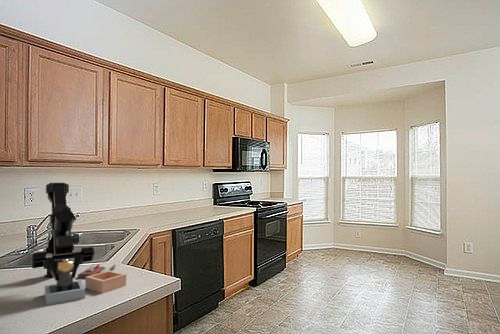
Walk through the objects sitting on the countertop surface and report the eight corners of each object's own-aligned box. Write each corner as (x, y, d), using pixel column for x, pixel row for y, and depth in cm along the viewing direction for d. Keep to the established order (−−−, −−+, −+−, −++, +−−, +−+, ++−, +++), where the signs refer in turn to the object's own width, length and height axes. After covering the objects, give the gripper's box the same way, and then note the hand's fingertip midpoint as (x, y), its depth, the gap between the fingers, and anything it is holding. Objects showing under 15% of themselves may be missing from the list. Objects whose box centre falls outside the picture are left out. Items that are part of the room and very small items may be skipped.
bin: (85, 290, 121) (85, 276, 121) (109, 283, 129) (109, 270, 129) (102, 296, 116) (102, 281, 116) (126, 288, 124) (126, 274, 124)
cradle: (44, 297, 114) (44, 285, 114) (80, 291, 120) (80, 280, 120) (46, 308, 105) (46, 295, 105) (85, 301, 111) (85, 288, 111)
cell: (64, 291, 116) (64, 257, 116) (75, 292, 114) (76, 258, 115) (52, 296, 111) (53, 260, 111) (65, 297, 110) (65, 261, 110)
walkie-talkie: (97, 283, 131) (117, 268, 151) (97, 271, 131) (117, 259, 151) (74, 282, 131) (97, 268, 151) (75, 271, 131) (98, 258, 151)
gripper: (32, 228, 111) (32, 269, 102) (94, 224, 122) (99, 261, 112) (31, 247, 117) (31, 288, 108) (90, 242, 128) (94, 279, 119)
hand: (65, 278), depth 112 cm, fingers closed on cell, 5 cm apart
